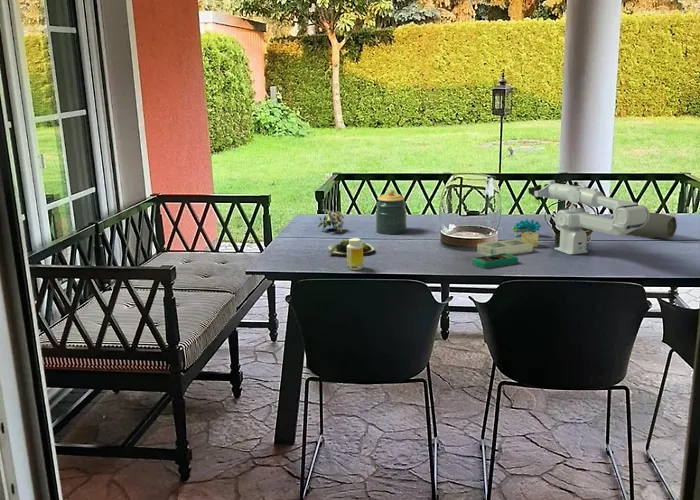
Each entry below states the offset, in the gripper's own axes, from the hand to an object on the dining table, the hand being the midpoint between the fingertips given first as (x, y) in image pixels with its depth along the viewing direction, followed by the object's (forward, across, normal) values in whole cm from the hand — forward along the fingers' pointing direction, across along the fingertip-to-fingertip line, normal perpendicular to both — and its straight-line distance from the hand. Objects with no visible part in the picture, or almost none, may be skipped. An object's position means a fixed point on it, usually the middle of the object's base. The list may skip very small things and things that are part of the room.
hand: (537, 188), depth 269 cm
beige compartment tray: (-8, +23, +19) cm, 31 cm away
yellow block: (-6, +10, +20) cm, 23 cm away
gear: (+8, 0, +20) cm, 22 cm away
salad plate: (+20, +72, +14) cm, 76 cm away
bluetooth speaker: (-15, -38, +25) cm, 48 cm away
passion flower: (+55, +65, +12) cm, 86 cm away
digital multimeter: (-20, +36, +19) cm, 45 cm away
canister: (+43, +43, +15) cm, 62 cm away
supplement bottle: (-1, +81, +14) cm, 82 cm away
